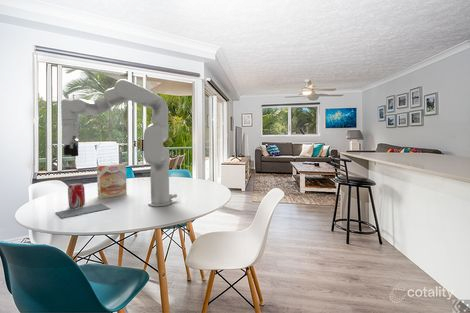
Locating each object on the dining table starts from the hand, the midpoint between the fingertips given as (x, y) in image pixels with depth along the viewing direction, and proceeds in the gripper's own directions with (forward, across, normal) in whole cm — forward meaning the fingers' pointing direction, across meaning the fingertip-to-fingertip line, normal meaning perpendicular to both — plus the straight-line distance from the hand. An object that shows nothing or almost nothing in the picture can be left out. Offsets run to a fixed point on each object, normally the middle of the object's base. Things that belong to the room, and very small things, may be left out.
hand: (71, 155), depth 125 cm
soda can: (+26, +9, -1) cm, 28 cm away
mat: (+26, +19, -2) cm, 32 cm away
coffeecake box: (+26, -1, +22) cm, 34 cm away
